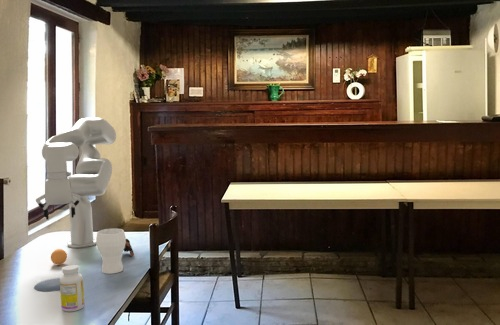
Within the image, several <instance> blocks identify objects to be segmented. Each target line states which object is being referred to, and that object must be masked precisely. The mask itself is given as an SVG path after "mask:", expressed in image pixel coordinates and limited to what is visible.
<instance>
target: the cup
mask: <svg viewBox="0 0 500 325" xmlns="http://www.w3.org/2000/svg"><path fill="white" fill-rule="evenodd" d="M95 239H96V244H95V245H96V248H97V251H98V252H99V254H100V256H101V259H102V260H101V261H102V266H101V273H102V274H110V275H111V274H117V273H121V272H122V271H123V270H124V266H123V262H122V257H123V256H122V255H123V252H124V248H125V244H126V239H127V237H126V234H125V230H124V229H122V228H104V229H101V230H98V231H97V234H96V237H95Z"/></svg>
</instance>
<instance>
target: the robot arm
mask: <svg viewBox="0 0 500 325" xmlns="http://www.w3.org/2000/svg"><path fill="white" fill-rule="evenodd" d="M116 140H117V134H116V130H115V127H114V126H112V124H110V123H109V122H108V121H107V120H105V119H104V118H102V117H85V118H83V117H82V118H80V119H77V121H76V122H75V123H74V124H73V125H72V126H71V128H69V130H66V131H64V132H61V133H59V134H56V135H53V136H51V137H50V138H49V139H48V140H47V141H46V142H45V143H44V145H43V147H42V149H41V154H42V155H41V157H42V158H43V159H44V160H45V162H46V176H47V179H45V181H44V182H45V183H44V188H45V189H44V194H42V195H41V196H39V197H37V198H36V199H35V201H36V203H37V205H38V206H39V207H40V208H41V209H42V210H43V214H44V215H43V218H46V221H48V220H49V219H50V218H49V208H48V207H49V206H55V205H56V206H57V205H66V204H68V208H69V210H68V211H69V226H70V228H69V229H70V241H68V242H67V246H68V247H69V248H73V249H79V248H89V247H93V246H95V245H97V244H96V238H94V229H93V227H94V224H93V208H92V203H91V201H90V199H89V198H88V197H95V196H96V197H99V196H103V195H104V194H105V193H106V191H107V189H108V185H109V182H110V180H111V176H112V171H113V166H112V165H113V164H112V162H111V161H110V159H108V158H104V157H101V154H100V152H99V150H98V149H97V148H96V147H95V146H96V145H112V144H115V142H116ZM94 145H95V146H94ZM79 148H80V149H81V155H80V154H79V153H80V149H79ZM79 155H80V158H79V160H78V162H77V165H76V168H75V174H72V173H71V172H70V171H68V166H67V163H68V162H73V161H75V160H77V158H78V157H79ZM43 199H44V200H45V203H44V204H43V203H42V200H43Z"/></svg>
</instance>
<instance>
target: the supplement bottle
mask: <svg viewBox="0 0 500 325" xmlns="http://www.w3.org/2000/svg"><path fill="white" fill-rule="evenodd" d="M61 269H62V270H61V271H62V275H61V276H60V290H59V292H60V307H61V310H62V311H64V312H76V311H79V310H81V309H83V308H84V307H85V296H84V294H85V293H84V292H85V291H84V278H83V275H82V274H81V273H79V271H80V269H79V265H76V264H73V265H72V264H71V265H65V266H63V267H62V268H61Z"/></svg>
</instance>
